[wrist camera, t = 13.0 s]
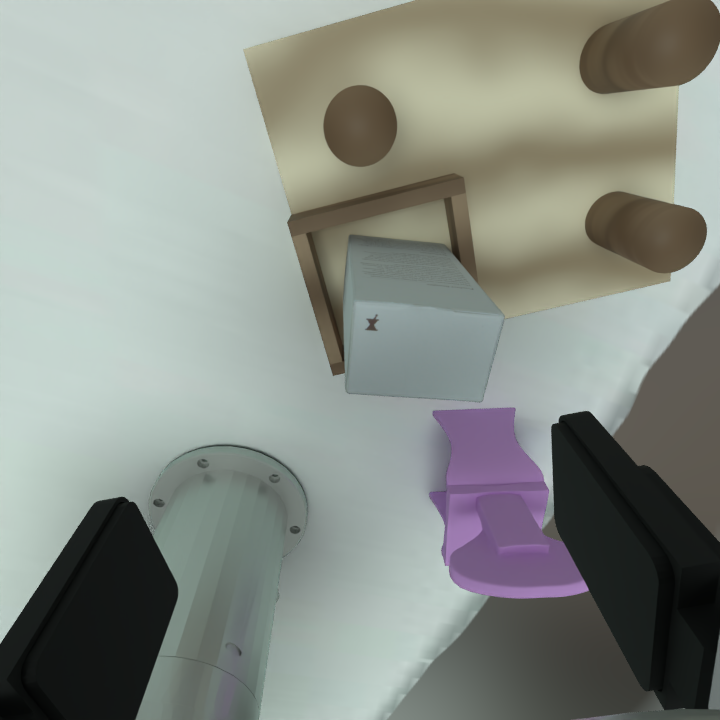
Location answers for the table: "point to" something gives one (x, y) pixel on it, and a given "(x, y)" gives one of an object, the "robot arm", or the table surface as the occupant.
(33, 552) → the table surface
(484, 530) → the toy chair
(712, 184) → the table surface
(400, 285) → the skincare box
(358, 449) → the table surface
